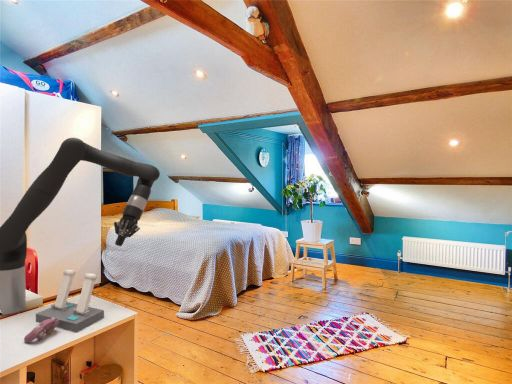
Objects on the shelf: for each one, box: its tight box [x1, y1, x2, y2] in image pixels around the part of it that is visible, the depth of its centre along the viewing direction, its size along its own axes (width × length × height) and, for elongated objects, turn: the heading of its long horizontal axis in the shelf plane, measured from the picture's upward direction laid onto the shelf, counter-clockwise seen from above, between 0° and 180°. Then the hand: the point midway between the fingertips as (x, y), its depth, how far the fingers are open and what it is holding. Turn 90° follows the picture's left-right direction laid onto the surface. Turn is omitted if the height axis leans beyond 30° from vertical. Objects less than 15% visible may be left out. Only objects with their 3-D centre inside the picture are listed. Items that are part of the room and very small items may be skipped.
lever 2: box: [76, 272, 98, 314], centre depth 119 cm, size 4×2×14 cm, turn 70°
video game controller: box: [23, 317, 60, 344], centre depth 107 cm, size 10×5×7 cm, turn 169°
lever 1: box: [54, 268, 76, 309], centre depth 123 cm, size 4×2×14 cm, turn 70°
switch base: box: [35, 301, 105, 333], centre depth 119 cm, size 20×12×5 cm, turn 70°
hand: (118, 245), depth 131 cm, fingers closed
